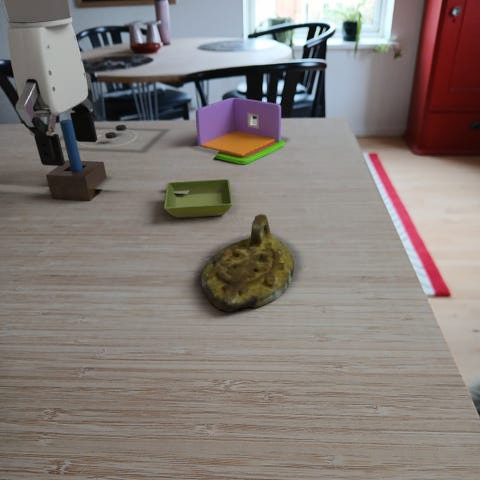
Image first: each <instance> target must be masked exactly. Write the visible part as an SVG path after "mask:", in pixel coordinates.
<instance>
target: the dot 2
mask: <svg viewBox="0 0 480 480" xmlns="http://www.w3.org/2000/svg"><path fill="white" fill-rule="evenodd" d="M115 129H116V130H115V131H117V132H123V131H124V130H127V126H126V125H125V124H118V125H116V126H115Z"/></svg>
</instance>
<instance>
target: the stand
mask: <svg viewBox="0 0 480 480" xmlns="http://www.w3.org/2000/svg"><path fill="white" fill-rule="evenodd" d="M81 163H82V168H83V169H82V170H81V171H79V172H73V171H71V167H70V163H69V159H66V160H65V164H64V165H63V166H55V168H53V169H52V170H50V171H49V172H48V173H46V174H45V177H46V182H47V185H48V189H49V194H50V196H51V199H52V200H53V199H54V200H71V201H72V200H73V201H85V202H86V201H87V202H90V201H92V200H93V199H94V198H96V197H97V196H98V195H99V194H100V193H101V192H102V191H103V188H98V186H100V185H101V184H102V183H103V182H104V181H105V180H106V179H107V178H108V177H107V171H106V167H105V162H104V161H100V160H99V161H96V160H95V161H94V160H81Z"/></svg>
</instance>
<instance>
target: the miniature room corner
mask: <svg viewBox="0 0 480 480" xmlns="http://www.w3.org/2000/svg"><path fill="white" fill-rule="evenodd" d="M254 117H255V118H256V123H253V121H254V119H253V118H254ZM195 127H196V138H197V145H198V146H199V147H202V148H207V149H211V150H215V151H217V153H216V154H215V156H214V157H213V158H214V159H218V160H222V161H225V162H229V163H234V164H239V165H247V164H249V163H252V162H254V161H257V160H259V159H261V158H263V157H265V156H267V155H269V154H271V153H273V152H275V151H277V150H279V149H281V148H283V147H285V145H286V142H285V141H284V140H282V139H281V138H282V106H281V104H279V103H274V102H269V101H268V102H267V101H263V100H262V101H261V100H255V99H248V98H242V97H229V98H226V99H225V98H224V99H222V100H219V101H216V102H213V103H211V104H208V105H205V106H202V107H200V108H198V109H196V110H195Z"/></svg>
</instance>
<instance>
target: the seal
mask: <svg viewBox="0 0 480 480" xmlns="http://www.w3.org/2000/svg"><path fill="white" fill-rule="evenodd" d="M269 224H270V223H269V220H268V216H267V215H266V214H264V213H260V214H257V215H255V216H254V219H253V221H252V224H251V230H250V236H249V237H247V238H243V239H241V240H239V241H235V242H232V243H230V244H228V245H226V246H225V247H223V248H221V249H220V250H218V251H217V252H216V253H215V254H214V255H212V257H211V258H209V260H208V261H207V263H206V264H205V266H204V268H203V270H202V272H201V286H202V289H203V291H204V292H205V294H206V296H207V298H208V300H209V301H210V302H211V303H212V304H213V305H214V306H215V307H217V308H218V309H220V310H223V311H225V312H234V311H236V310H238V309H245V308H248V307H253V308H258V307H261V306H264V305H267V304H269V303H271V302H273V301H275V300H276V299H278V298H280V297H281V296H282V295H283V294H284V293H285V292H286V291H287V290H288V288H289V286H290V284H291V282H292V279H293V276H294V272H295V260H294V258H293V254H292V252H291V250H289V248H287V246H286V245H285V244H284V243H283V242H281V241H280V240H278V238H276V237H275V236H273V234H272V233H271V229H270V225H269Z"/></svg>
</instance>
